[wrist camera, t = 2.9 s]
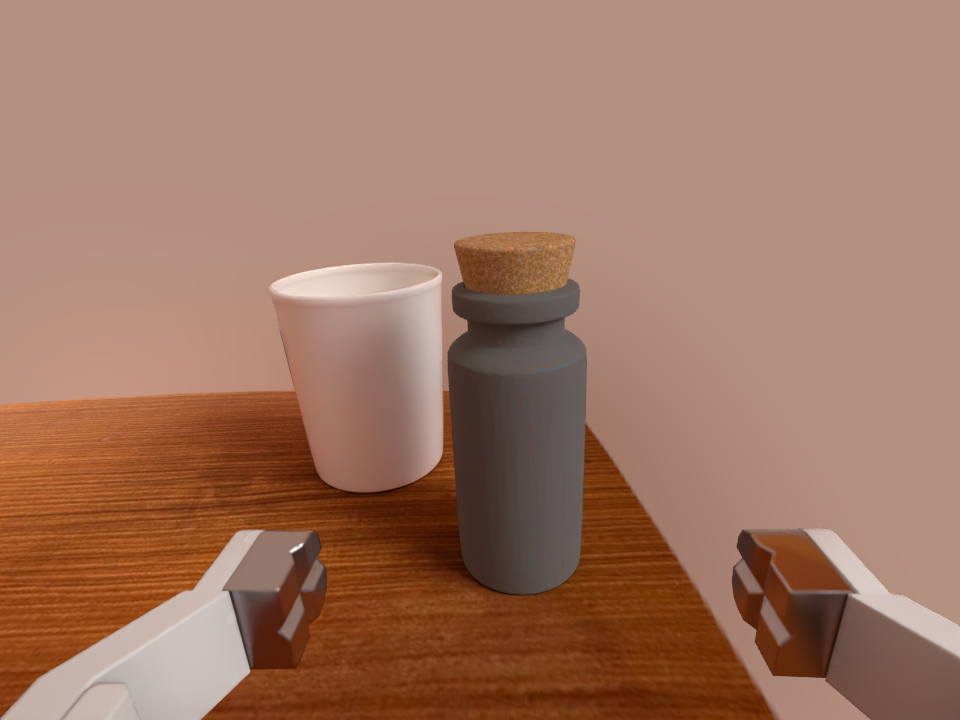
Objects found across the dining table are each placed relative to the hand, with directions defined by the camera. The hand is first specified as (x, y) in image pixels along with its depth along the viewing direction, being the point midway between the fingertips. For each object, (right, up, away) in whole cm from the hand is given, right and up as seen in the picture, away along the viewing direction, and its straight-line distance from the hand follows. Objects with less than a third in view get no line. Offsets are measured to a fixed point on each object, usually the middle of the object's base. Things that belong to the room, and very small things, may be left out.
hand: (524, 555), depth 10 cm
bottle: (+1, -6, +15) cm, 16 cm away
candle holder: (-7, -3, +24) cm, 25 cm away
